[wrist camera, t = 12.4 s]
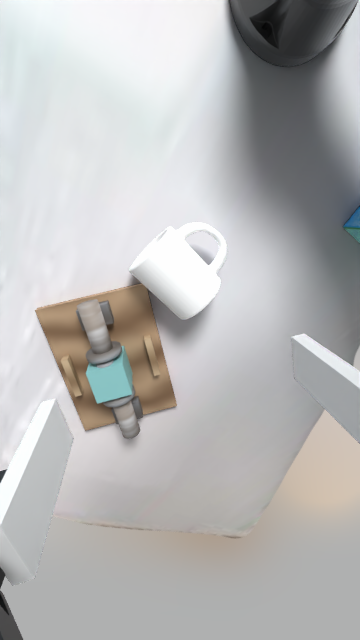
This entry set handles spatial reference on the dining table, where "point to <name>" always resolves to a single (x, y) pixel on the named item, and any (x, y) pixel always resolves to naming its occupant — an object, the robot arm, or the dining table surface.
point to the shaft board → (110, 354)
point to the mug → (180, 270)
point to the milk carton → (354, 225)
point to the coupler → (111, 378)
